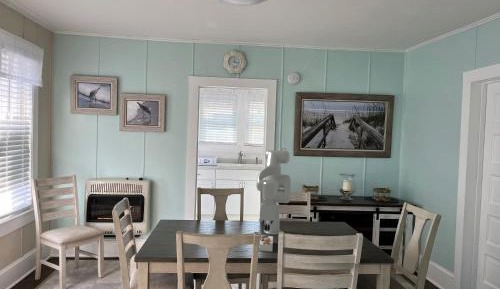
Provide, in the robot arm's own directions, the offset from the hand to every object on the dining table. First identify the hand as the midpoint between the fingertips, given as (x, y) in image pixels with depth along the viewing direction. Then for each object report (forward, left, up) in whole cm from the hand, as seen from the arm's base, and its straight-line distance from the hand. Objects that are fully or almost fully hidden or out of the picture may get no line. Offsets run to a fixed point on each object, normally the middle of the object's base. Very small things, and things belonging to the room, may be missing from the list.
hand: (267, 231), depth 236 cm
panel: (-7, -1, -12) cm, 14 cm away
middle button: (-7, -1, -8) cm, 11 cm away
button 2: (-1, 0, -8) cm, 8 cm away
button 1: (-14, -3, -10) cm, 17 cm away
